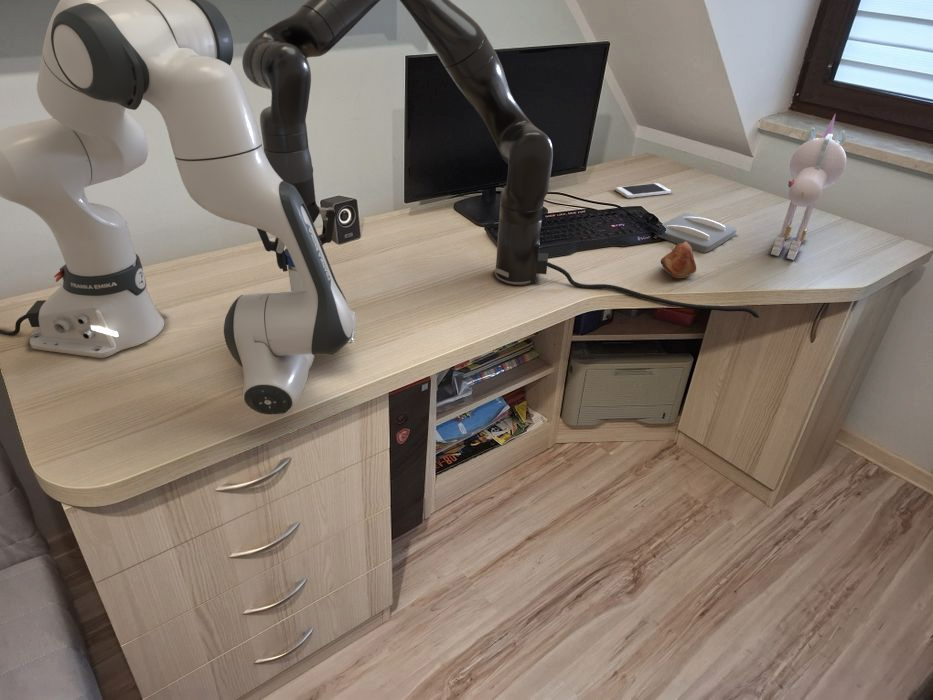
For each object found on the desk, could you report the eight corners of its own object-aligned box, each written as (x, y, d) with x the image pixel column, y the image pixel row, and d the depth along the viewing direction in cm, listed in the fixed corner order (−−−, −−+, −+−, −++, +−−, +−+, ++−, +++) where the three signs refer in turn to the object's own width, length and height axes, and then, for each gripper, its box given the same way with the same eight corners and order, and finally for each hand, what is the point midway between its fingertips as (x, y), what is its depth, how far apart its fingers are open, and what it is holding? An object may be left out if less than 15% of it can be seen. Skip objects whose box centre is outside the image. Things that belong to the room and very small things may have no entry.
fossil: (669, 273, 140) (675, 228, 140) (641, 275, 147) (646, 232, 147) (707, 283, 147) (712, 240, 147) (678, 285, 154) (683, 244, 154)
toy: (826, 222, 178) (867, 110, 161) (806, 269, 152) (852, 142, 135) (779, 212, 183) (814, 103, 167) (751, 256, 157) (789, 132, 141)
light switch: (708, 241, 156) (653, 223, 165) (705, 253, 158) (650, 234, 167) (740, 223, 167) (687, 206, 176) (737, 234, 169) (684, 217, 178)
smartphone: (614, 190, 195) (615, 187, 194) (657, 185, 199) (658, 182, 199) (627, 198, 189) (628, 195, 189) (671, 193, 194) (671, 190, 193)
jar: (293, 338, 121) (282, 260, 111) (302, 325, 124) (293, 249, 115) (315, 341, 120) (306, 263, 111) (324, 329, 124) (316, 252, 114)
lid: (284, 268, 111) (282, 258, 110) (285, 255, 115) (283, 245, 114) (315, 267, 112) (314, 256, 111) (315, 253, 116) (314, 243, 115)
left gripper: (350, 329, 106) (361, 289, 118) (227, 327, 106) (249, 287, 117) (353, 360, 110) (363, 319, 121) (233, 358, 109) (254, 316, 121)
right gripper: (327, 162, 110) (335, 252, 119) (240, 171, 105) (256, 264, 114) (338, 176, 104) (345, 270, 114) (247, 186, 99) (263, 283, 109)
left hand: (306, 303), depth 119 cm, fingers closed on jar, 4 cm apart
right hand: (300, 266), depth 114 cm, fingers closed on lid, 5 cm apart
